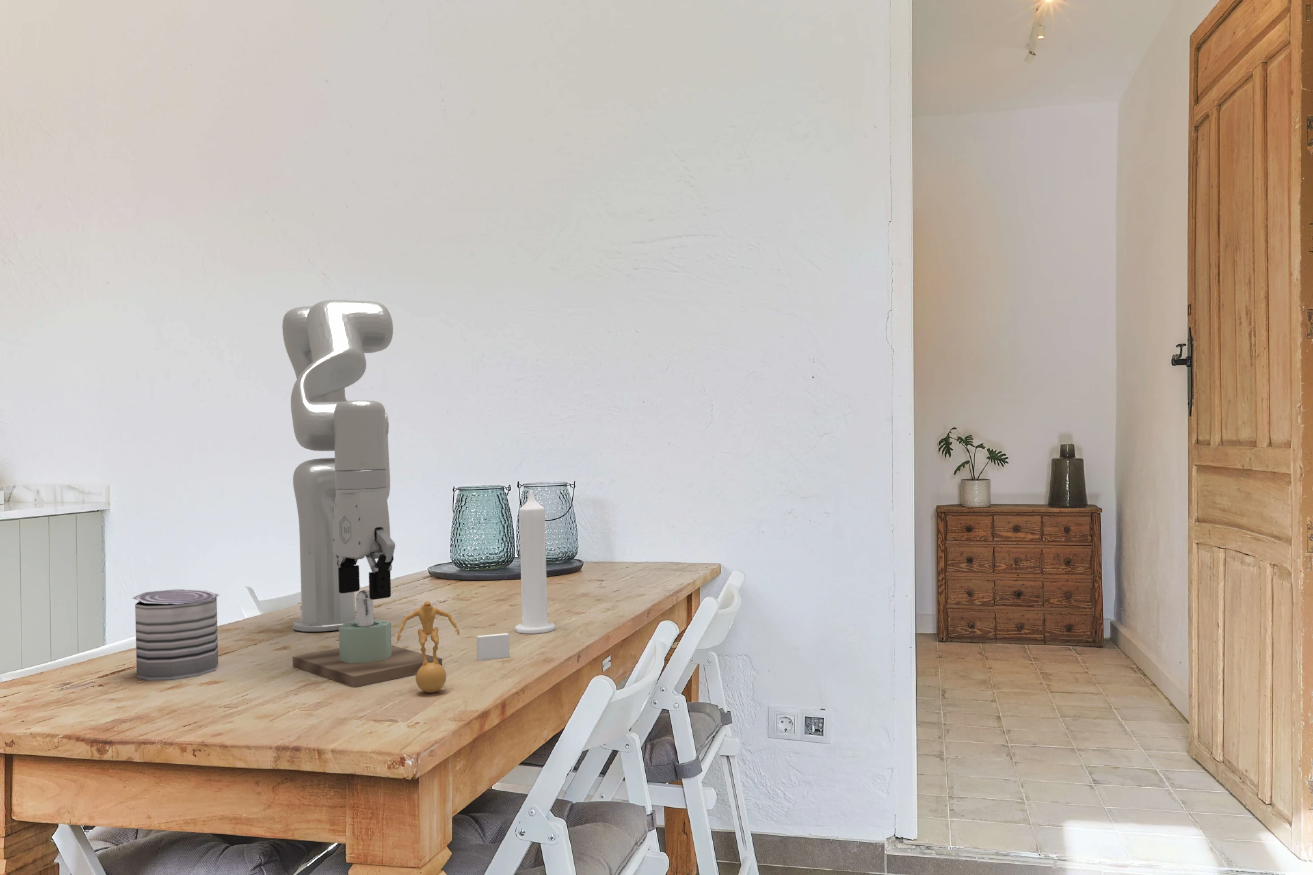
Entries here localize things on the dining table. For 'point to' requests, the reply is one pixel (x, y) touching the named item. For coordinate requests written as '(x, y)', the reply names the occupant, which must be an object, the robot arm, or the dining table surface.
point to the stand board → (362, 666)
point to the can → (176, 634)
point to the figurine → (429, 673)
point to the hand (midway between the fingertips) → (364, 595)
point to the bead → (365, 642)
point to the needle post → (364, 609)
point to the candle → (533, 569)
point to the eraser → (493, 646)
